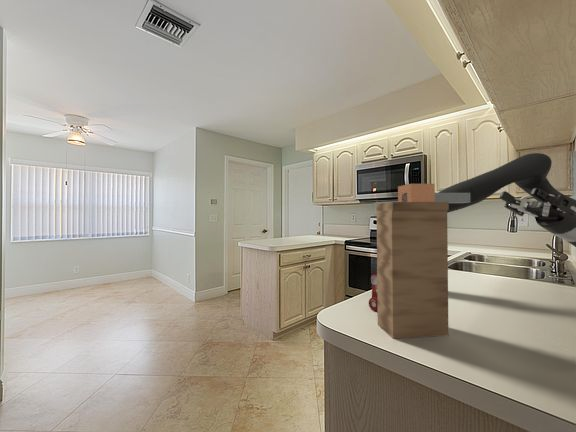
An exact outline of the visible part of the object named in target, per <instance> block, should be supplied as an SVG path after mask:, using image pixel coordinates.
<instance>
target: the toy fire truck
mask: <svg viewBox="0 0 576 432" xmlns="http://www.w3.org/2000/svg"><path fill="white" fill-rule="evenodd" d="M370 283H371V298H369V300H368V306H369V308H370V310H371V311H373V312H378V305H377V274H371V277H370Z"/></svg>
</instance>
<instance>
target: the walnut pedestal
mask: <svg viewBox="0 0 576 432" xmlns="http://www.w3.org/2000/svg"><path fill="white" fill-rule="evenodd" d="M447 210H449V202H398V201H390V202H381V203H375V212H376V266H377V267H376V275H377V305H378V311H377V325H378V327H380V328H381V329H382V330H383V331H384V332H385V333H386V334H387V335H389V336H390V338H392V339H393V340H394V339H407V338H427V337H440V336H441V337H442V336H449V273H448V272H449V269H448V268H449V265H448V264H449V260H448V257H449V256H448V255H449V253H448V250H449V249H448V247H449V246H448V242H449V241H448V213H447Z"/></svg>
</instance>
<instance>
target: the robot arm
mask: <svg viewBox="0 0 576 432" xmlns="http://www.w3.org/2000/svg"><path fill="white" fill-rule="evenodd" d="M552 165H553V164H552V159H551V157H550V156H549V155H547V154H545V153H540V152H534V153H533V152H532V153H527V154H525V155H522V156H521V155H520V156H519V157H517V158H515V159H513V160H511V161H509V162H506V163H505V164H503V165H500V166H498V167H497V168H495V169H492V170H489V171H487V172H484V173H482V174H479V175H476V176H474V177H472V178H469V179H466V180H462V181H461V182H457V183H455V184H453V185H450V186H449V187H446V188H444V189H442V190H440V191H438V192H437V193H470V203H449V210H447V214H448V213H452V212H455V211H459V210H462V209H465V208H468V207H471V206H473V205H476V204H478V203H481V202H483V201H484V200H486V199H487V198H489V197H491V196H492V195H493V194H495V193H496V192H498V191H500V190H501V189H503V188H505V187H507V186H509V185H511V184H513V183H514V184H515V185H517V187H519V188H520V189H521V190H523V191H524V192H525V193H527V194H528V195H529V196H530V197H532V198H533V199H535V200H531V199H527V198H523V199H521V198H519V197H515V196H514V195H512V194H510V192H508V191H505V190H504V191H501V193H500V195H499V199H500V200H502V201H504V202H505V204H504V206H503V207H504V208H505V209H507V210H509V211H511V212H512V213H514V214H515V215H518V216H519V217H523V216H525V214H527V215H528V216H532V217H534V219H535V222H536V224H537V225H538V226H540V227H542V228H543V229H545V230H546V231H548V232H549V233H551V234H552V235H554V236H555V237H558V238H559V239H561V240H564V241H566V242H567V243H569V244H570V245H572V246H574V247H575V248H576V199H575V198H573V197H570V196H568V195H565V194H564V193H562V192H560V191H559V190H557V189H556V188H555V187H554V186H553V185H552V184H551V182H550V181H549V180H548V178H547V176H548V175H549V172H550V171H551V169H552ZM525 204H526V206H525Z"/></svg>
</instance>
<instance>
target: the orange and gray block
mask: <svg viewBox="0 0 576 432" xmlns="http://www.w3.org/2000/svg"><path fill="white" fill-rule="evenodd" d="M435 190H436V189H435V183H409V184H404V185H399V186H397V193H398V194H397V202H449V203H470V193H438V192H435Z"/></svg>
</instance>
